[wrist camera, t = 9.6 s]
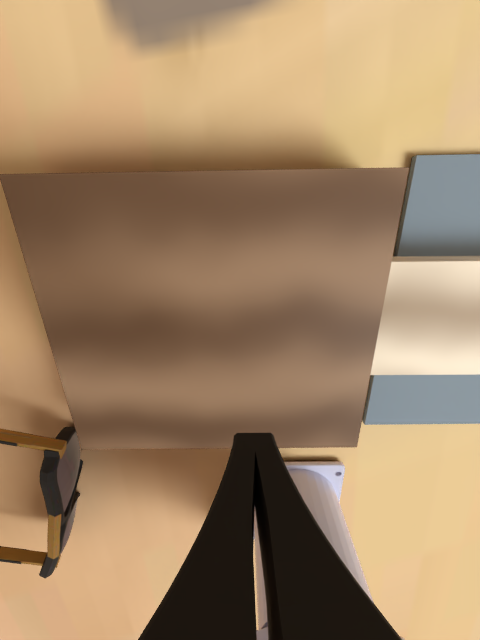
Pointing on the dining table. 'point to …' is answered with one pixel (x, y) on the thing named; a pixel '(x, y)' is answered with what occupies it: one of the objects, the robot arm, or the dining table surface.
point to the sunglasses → (50, 493)
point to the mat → (433, 240)
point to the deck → (211, 299)
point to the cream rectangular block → (430, 317)
